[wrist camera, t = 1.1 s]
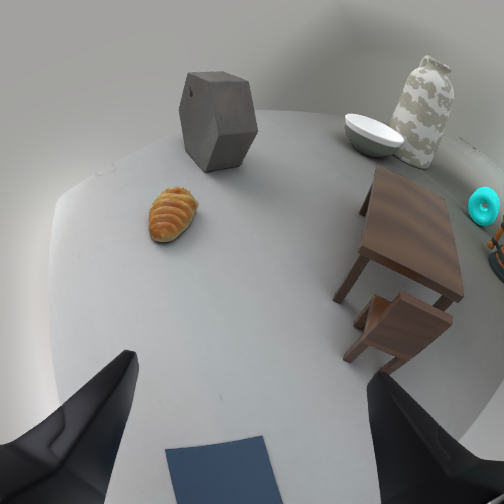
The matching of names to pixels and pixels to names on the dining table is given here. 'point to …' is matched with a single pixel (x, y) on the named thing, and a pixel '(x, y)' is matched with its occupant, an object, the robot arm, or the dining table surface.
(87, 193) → the dining table surface
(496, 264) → the mug
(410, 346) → the chair
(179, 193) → the pastry
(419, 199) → the side table
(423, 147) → the vase
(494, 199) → the donuts
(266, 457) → the mat
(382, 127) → the bowl
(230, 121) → the grey hexagonal prism
